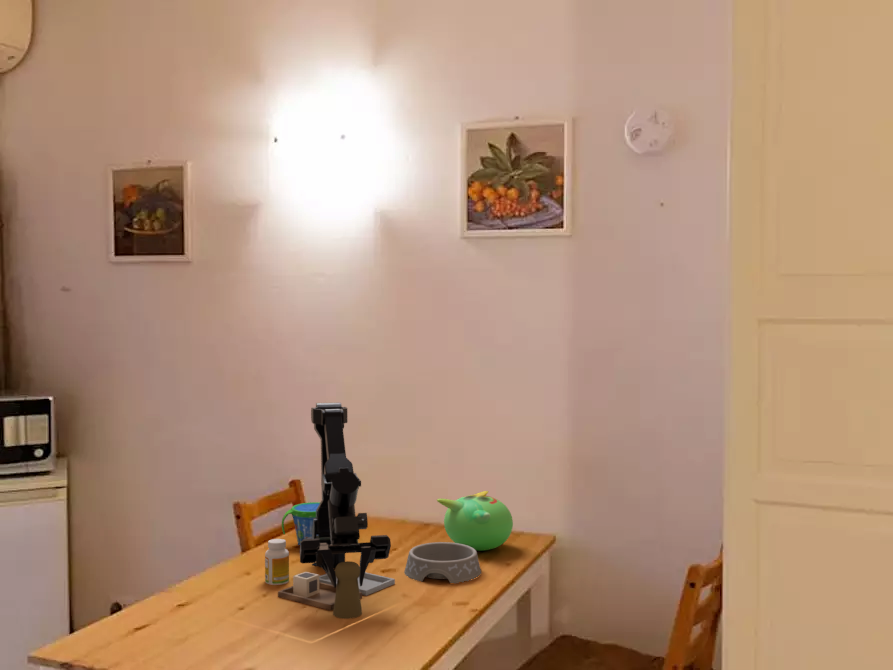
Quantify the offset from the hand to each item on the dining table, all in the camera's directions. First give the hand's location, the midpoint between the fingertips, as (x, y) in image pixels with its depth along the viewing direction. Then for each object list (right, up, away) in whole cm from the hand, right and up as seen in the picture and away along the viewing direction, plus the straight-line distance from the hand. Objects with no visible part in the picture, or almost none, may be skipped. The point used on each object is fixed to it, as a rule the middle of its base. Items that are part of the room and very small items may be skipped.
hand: (348, 585), depth 198 cm
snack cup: (-15, -4, +54) cm, 56 cm away
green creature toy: (+28, -4, +51) cm, 59 cm away
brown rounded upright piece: (0, -7, +2) cm, 7 cm away
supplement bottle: (-19, -5, +23) cm, 30 cm away
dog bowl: (+19, -6, +32) cm, 38 cm away
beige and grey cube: (-11, -5, +14) cm, 19 cm away
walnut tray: (-7, -6, +12) cm, 15 cm away
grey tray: (-1, -5, +21) cm, 22 cm away
